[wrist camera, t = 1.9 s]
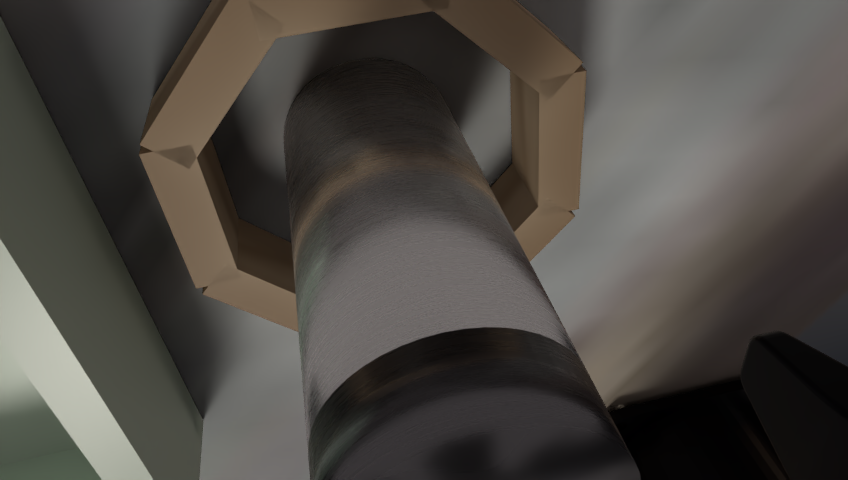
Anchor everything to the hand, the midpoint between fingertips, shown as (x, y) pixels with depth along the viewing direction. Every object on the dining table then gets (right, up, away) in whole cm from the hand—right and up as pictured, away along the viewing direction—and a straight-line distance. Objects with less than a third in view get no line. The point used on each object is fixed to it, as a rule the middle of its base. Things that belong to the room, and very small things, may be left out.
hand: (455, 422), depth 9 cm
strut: (-2, +5, +6) cm, 8 cm away
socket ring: (-2, +5, +6) cm, 8 cm away
